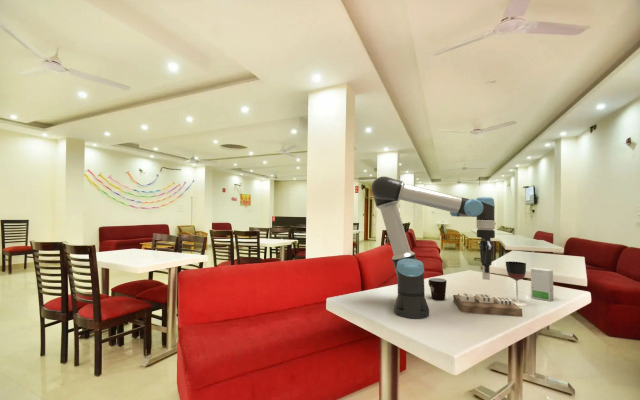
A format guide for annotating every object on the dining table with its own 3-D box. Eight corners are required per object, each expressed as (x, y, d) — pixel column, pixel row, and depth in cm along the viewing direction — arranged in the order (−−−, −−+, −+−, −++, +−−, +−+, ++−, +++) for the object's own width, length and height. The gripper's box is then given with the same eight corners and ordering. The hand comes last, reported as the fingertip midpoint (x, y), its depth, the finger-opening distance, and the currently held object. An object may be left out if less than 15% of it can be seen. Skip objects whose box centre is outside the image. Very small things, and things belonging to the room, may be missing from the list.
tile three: (498, 305, 130) (498, 299, 130) (494, 301, 136) (494, 296, 136) (513, 306, 129) (513, 300, 129) (508, 302, 135) (508, 297, 135)
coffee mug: (449, 301, 145) (448, 281, 146) (431, 300, 147) (430, 281, 148) (443, 295, 157) (443, 277, 157) (427, 294, 158) (426, 276, 159)
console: (461, 312, 129) (461, 305, 129) (453, 301, 146) (453, 294, 146) (522, 316, 123) (521, 309, 123) (506, 304, 140) (506, 297, 140)
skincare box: (531, 298, 150) (529, 268, 151) (535, 296, 154) (533, 267, 155) (550, 301, 144) (549, 270, 145) (554, 299, 148) (553, 269, 149)
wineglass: (515, 300, 147) (513, 261, 148) (532, 305, 139) (530, 263, 140) (503, 301, 144) (501, 261, 146) (520, 306, 136) (518, 264, 137)
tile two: (479, 302, 132) (479, 296, 133) (475, 298, 138) (475, 293, 138) (493, 303, 131) (493, 297, 131) (489, 299, 137) (489, 294, 137)
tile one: (460, 301, 134) (460, 295, 135) (457, 297, 140) (457, 292, 140) (474, 302, 133) (474, 296, 133) (471, 298, 139) (471, 293, 139)
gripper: (499, 230, 129) (500, 283, 128) (489, 229, 142) (490, 277, 140) (480, 229, 131) (481, 281, 130) (473, 228, 144) (473, 276, 142)
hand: (486, 279), depth 135 cm, fingers closed
